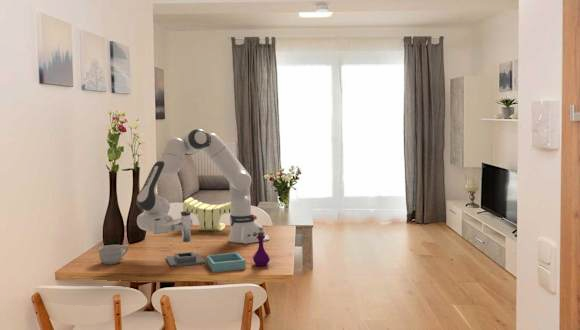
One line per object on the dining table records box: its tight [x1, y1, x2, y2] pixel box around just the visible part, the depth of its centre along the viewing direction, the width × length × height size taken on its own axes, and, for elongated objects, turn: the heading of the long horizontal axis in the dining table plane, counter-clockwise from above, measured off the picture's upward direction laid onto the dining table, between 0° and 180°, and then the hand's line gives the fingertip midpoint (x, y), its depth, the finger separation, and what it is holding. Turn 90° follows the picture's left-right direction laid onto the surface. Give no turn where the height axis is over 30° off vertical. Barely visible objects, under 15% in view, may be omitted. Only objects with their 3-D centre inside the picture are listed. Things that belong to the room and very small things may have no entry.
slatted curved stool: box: [182, 196, 231, 232], centre depth 354 cm, size 30×16×18 cm, turn 83°
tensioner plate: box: [165, 251, 206, 268], centre depth 283 cm, size 16×16×3 cm
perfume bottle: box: [252, 226, 271, 267], centre depth 273 cm, size 8×8×18 cm
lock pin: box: [180, 210, 192, 243], centre depth 280 cm, size 4×4×14 cm
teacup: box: [98, 244, 129, 265], centre depth 281 cm, size 14×11×8 cm
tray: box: [205, 252, 247, 273], centre depth 273 cm, size 15×15×4 cm
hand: (187, 226), depth 280 cm, fingers closed on lock pin, 4 cm apart
